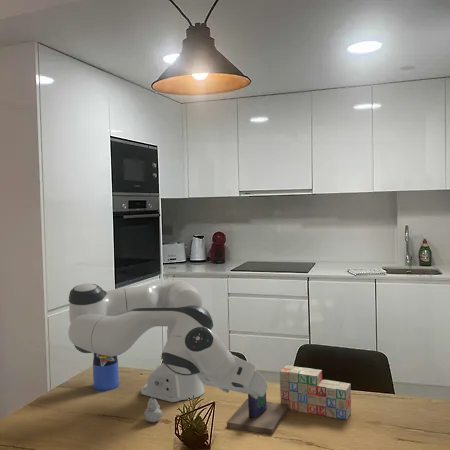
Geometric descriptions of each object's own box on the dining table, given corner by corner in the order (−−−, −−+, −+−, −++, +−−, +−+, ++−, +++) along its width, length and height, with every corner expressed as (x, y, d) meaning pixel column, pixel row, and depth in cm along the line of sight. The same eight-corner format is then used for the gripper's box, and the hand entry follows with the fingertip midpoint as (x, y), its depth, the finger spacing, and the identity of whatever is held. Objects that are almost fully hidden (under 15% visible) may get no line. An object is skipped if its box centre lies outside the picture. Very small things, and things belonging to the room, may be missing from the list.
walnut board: (226, 427, 144) (226, 422, 144) (247, 403, 160) (246, 398, 160) (272, 434, 138) (272, 429, 138) (288, 409, 155) (288, 404, 155)
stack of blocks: (351, 412, 152) (351, 373, 151) (346, 420, 146) (345, 380, 146) (287, 400, 162) (286, 364, 161) (280, 408, 156) (279, 370, 156)
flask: (261, 406, 154) (260, 373, 153) (269, 408, 152) (268, 375, 152) (246, 418, 146) (245, 383, 145) (255, 420, 144) (254, 384, 144)
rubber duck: (140, 424, 147) (139, 398, 147) (150, 414, 153) (149, 389, 153) (157, 426, 145) (156, 399, 145) (166, 416, 152) (165, 391, 151)
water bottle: (92, 383, 182) (90, 317, 180) (118, 380, 184) (115, 314, 183) (93, 392, 173) (91, 322, 172) (120, 388, 175) (118, 320, 174)
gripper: (186, 373, 135) (206, 396, 143) (251, 387, 124) (269, 410, 132) (195, 353, 138) (214, 376, 147) (259, 364, 127) (276, 389, 136)
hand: (241, 393), depth 140 cm, fingers open, 8 cm apart
